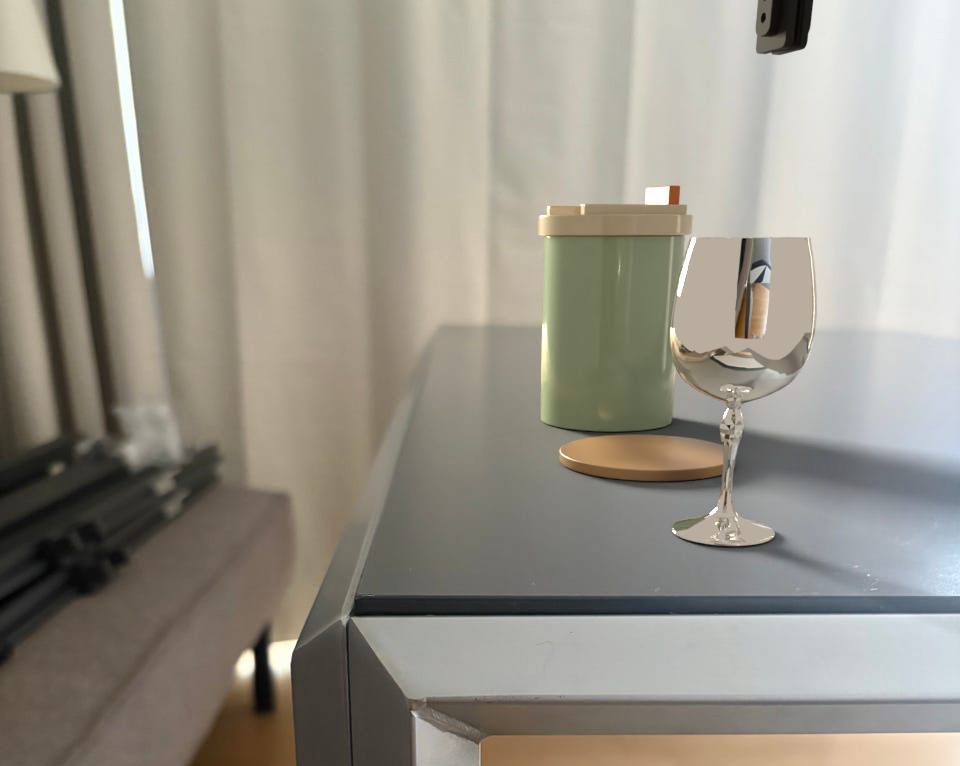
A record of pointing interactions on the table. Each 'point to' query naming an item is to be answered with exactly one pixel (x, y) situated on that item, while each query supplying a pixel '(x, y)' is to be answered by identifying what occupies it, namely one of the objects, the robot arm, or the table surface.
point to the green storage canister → (609, 314)
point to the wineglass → (740, 346)
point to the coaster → (644, 457)
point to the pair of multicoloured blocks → (663, 195)
